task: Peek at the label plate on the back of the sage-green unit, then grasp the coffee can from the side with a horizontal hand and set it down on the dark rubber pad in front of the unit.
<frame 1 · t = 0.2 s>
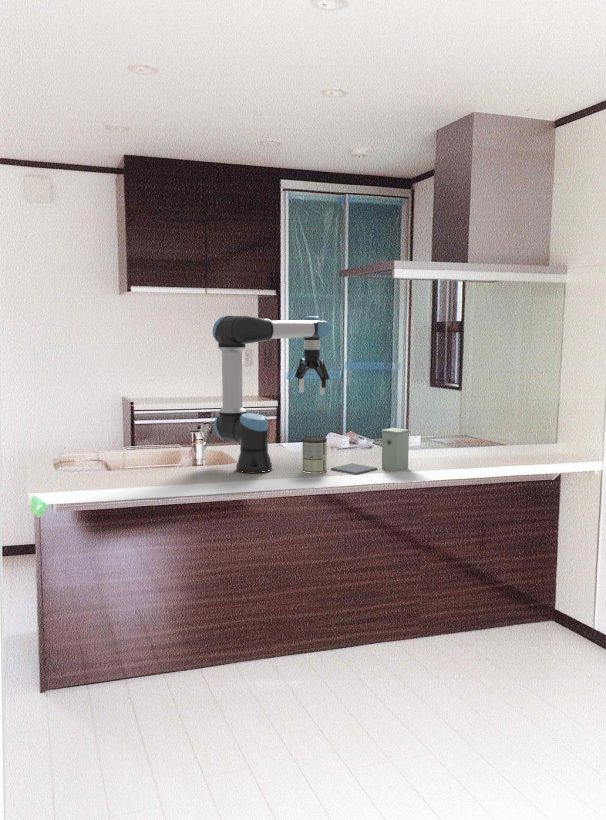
hand: (311, 393, 352), 28 cm above the worktop, tool pointing down, fingers open, 13 cm apart
pad: (354, 469, 312), on the worktop
coffee can: (314, 471, 309), on the worktop
unit: (394, 468, 314), on the worktop
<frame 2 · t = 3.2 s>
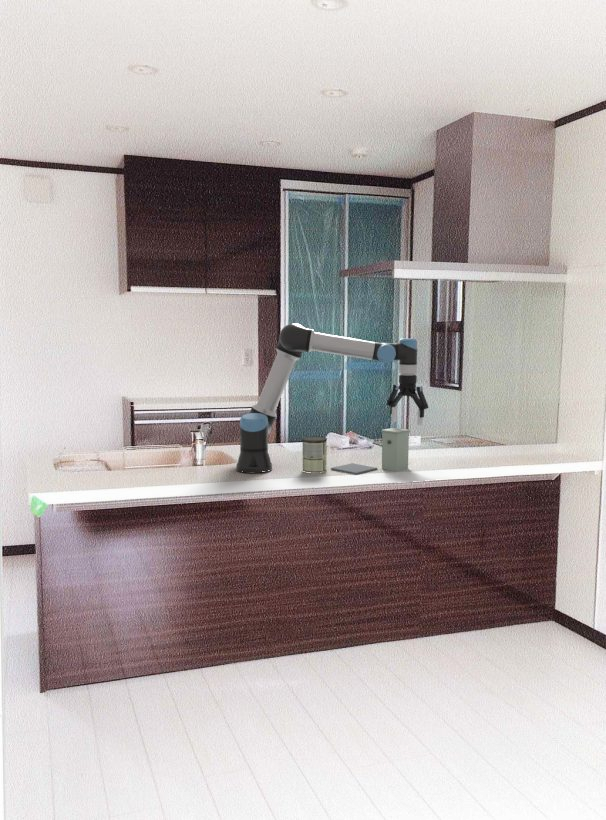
hand: (406, 423, 318), 19 cm above the worktop, tool pointing down, fingers open, 13 cm apart
nothing on the worktop moved.
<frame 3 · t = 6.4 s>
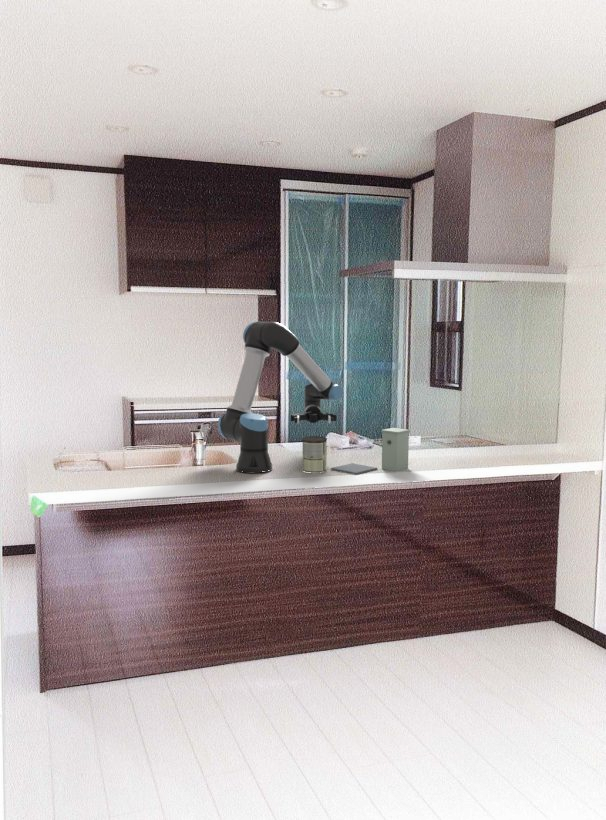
hand: (314, 420, 316), 20 cm above the worktop, tool horizontal, fingers open, 13 cm apart
nothing on the worktop moved.
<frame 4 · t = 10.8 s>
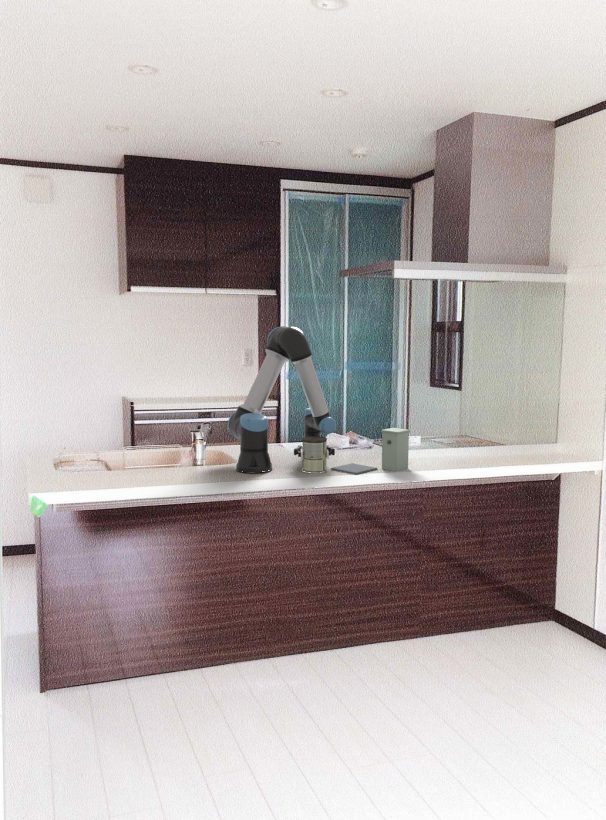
hand: (314, 455, 304), 8 cm above the worktop, tool horizontal, fingers closed on coffee can, 10 cm apart
coffee can: (314, 471, 309), on the worktop, touching gripper
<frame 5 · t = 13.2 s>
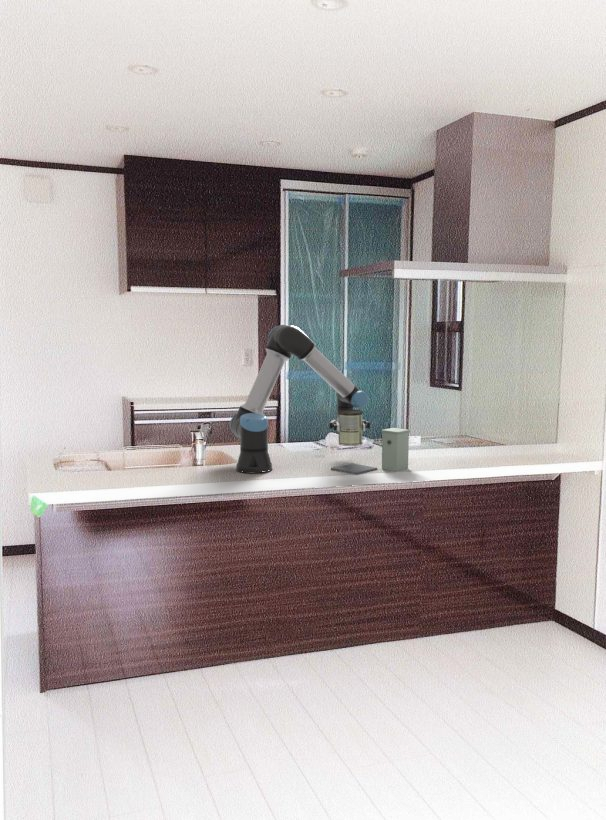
hand: (351, 428, 305), 19 cm above the worktop, tool horizontal, fingers closed on coffee can, 10 cm apart
coffee can: (350, 444, 310), point 11 cm above the worktop, touching gripper
when the fingers open (9 cm above the worktop, at t = 15.5 s): coffee can drops 1 cm, resting on pad.
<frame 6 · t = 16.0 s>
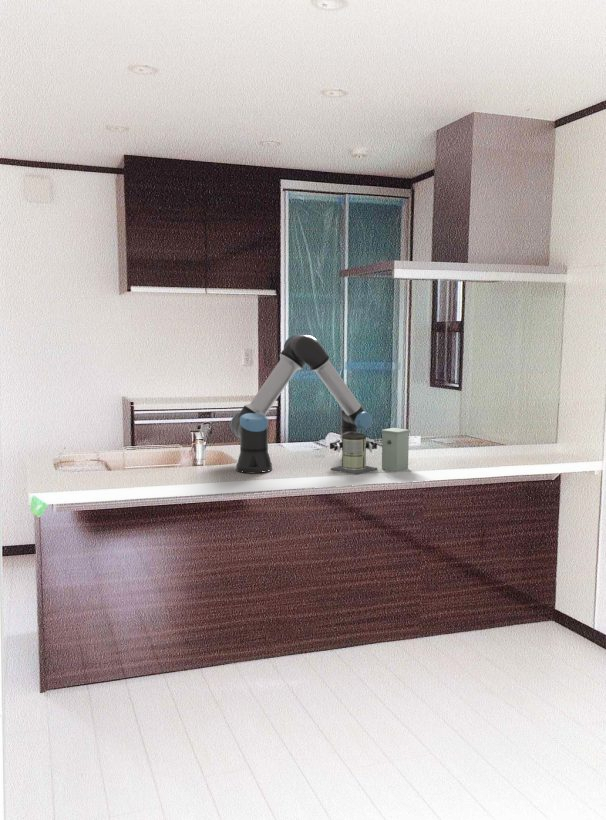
hand: (355, 449, 307), 9 cm above the worktop, tool horizontal, fingers open, 13 cm apart
coffee can: (353, 468, 312), point 1 cm above the worktop, touching pad
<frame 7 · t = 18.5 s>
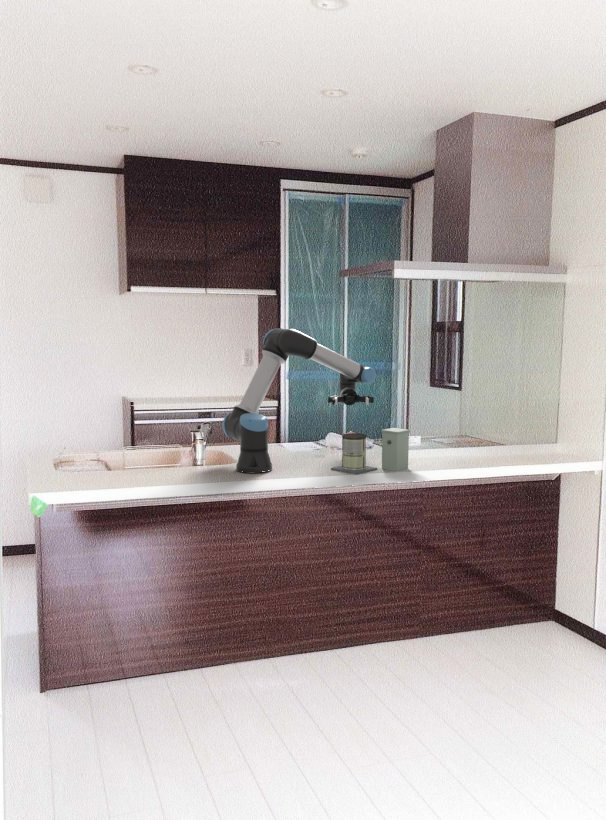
hand: (352, 402, 318), 28 cm above the worktop, tool horizontal, fingers open, 13 cm apart
nothing on the worktop moved.
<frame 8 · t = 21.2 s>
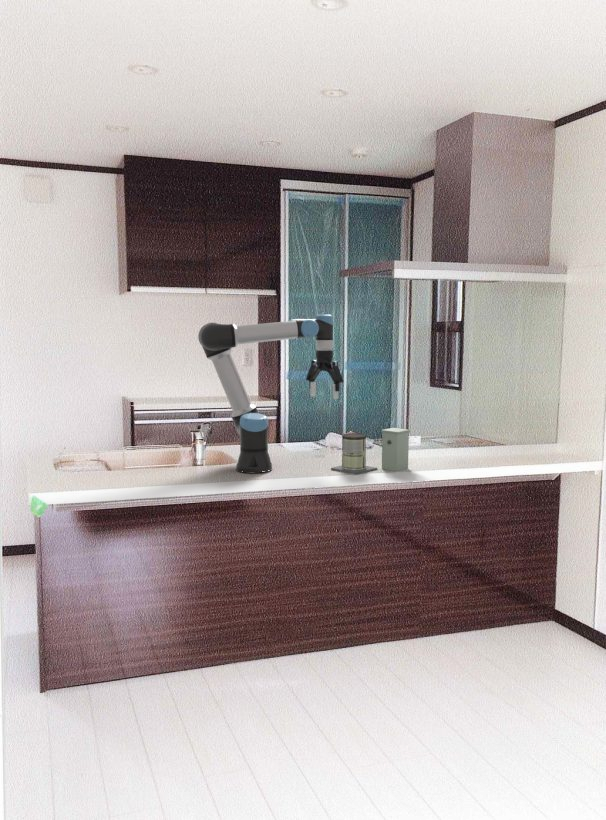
hand: (324, 397, 327), 29 cm above the worktop, tool pointing down, fingers open, 13 cm apart
nothing on the worktop moved.
at the end: coffee can inside the target area on the pad (0.1 cm from its centre), point 0.6 cm above the pad's base; coffee can tilted 0°; the gripper is holding nothing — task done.
